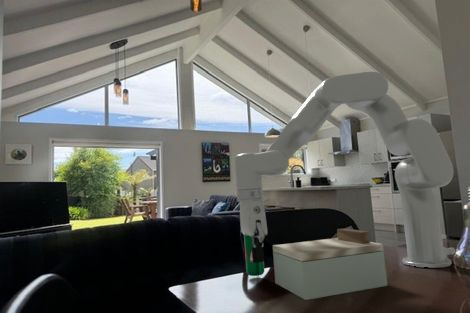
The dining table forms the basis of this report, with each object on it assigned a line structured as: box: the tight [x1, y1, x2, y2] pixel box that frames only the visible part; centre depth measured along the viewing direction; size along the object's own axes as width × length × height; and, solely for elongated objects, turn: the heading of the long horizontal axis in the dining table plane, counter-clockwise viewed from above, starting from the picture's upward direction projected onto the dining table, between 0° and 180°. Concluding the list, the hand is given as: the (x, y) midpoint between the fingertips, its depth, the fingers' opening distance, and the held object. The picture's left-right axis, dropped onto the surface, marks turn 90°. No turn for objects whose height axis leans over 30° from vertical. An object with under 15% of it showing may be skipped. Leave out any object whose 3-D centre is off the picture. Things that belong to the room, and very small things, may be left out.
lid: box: [272, 228, 384, 261], centre depth 84 cm, size 22×16×4 cm
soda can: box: [243, 233, 265, 277], centre depth 94 cm, size 5×5×12 cm
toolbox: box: [272, 250, 388, 301], centre depth 84 cm, size 22×16×8 cm
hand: (254, 259), depth 94 cm, fingers closed on soda can, 5 cm apart
